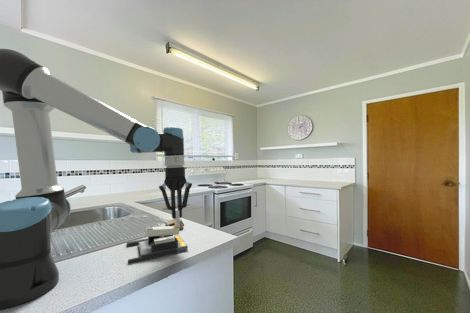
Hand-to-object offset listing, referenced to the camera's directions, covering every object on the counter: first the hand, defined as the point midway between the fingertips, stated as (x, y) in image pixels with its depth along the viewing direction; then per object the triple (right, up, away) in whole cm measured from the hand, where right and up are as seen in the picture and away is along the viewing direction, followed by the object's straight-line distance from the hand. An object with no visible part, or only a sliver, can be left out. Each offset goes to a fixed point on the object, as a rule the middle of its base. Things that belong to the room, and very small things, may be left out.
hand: (177, 226), depth 85 cm
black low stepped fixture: (-8, -8, -3) cm, 12 cm away
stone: (-8, -8, +22) cm, 25 cm away
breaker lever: (-5, -2, -3) cm, 6 cm away
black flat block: (-5, -8, -3) cm, 9 cm away
